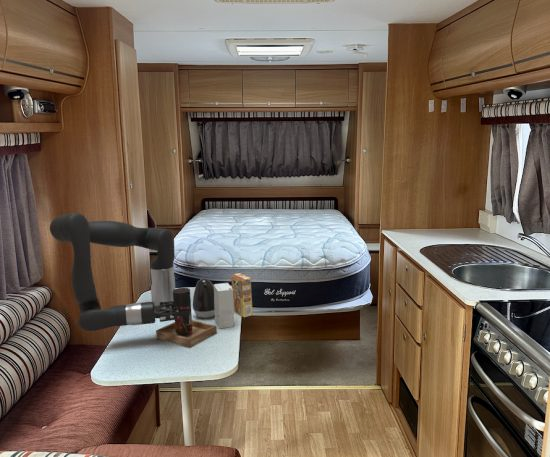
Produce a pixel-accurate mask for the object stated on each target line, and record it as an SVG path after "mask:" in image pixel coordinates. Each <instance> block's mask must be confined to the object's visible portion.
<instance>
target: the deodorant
mask: <svg viewBox="0 0 550 457" xmlns="http://www.w3.org/2000/svg"><path fill="white" fill-rule="evenodd" d="M173 303H174V310H181V309H190V315H189V316H179V317H178V319H177V320H174V322H175V331H176V333H177V334H188V333H191V332H192V331H193V329H192V320H193V317H192V316H193V315H192V300H191V289H190V288H188V287H178V288H175V289H174V290H173Z"/></svg>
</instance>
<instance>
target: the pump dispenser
mask: <svg viewBox="0 0 550 457" xmlns="http://www.w3.org/2000/svg"><path fill="white" fill-rule="evenodd" d="M192 298H193V299H192V310H193V312H194V313H195V315H196V316H197V317H199V318H202V319H208V318H212V317H215V307H214V283H212V281H211V280H210V279H209V278H206V277H205V278H201V279H199V280H198V281H197V282H196V285H195V287H194V293H193V297H192Z"/></svg>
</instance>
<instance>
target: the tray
mask: <svg viewBox="0 0 550 457" xmlns="http://www.w3.org/2000/svg"><path fill="white" fill-rule="evenodd" d="M217 327H218V326H217V325H214V324H211V323H206V322H203V321H199V320H196V319H195V320H194V319H192V329H193V331H192V332H191V333H188V334H177V333H176V331H175V321H174V322H172V323H169V324H166V325H165V326H163V327H161V328H158V329H156V330H155V336H156V339H159V340H163V341H164V342H165V341H166V342H169V343H172V344H176V345H179V346H183V347H186V348H189V349H190V348H192V347H194V346H195V345H197V344H200V343H202V342H203V341H204V340H207V339H208V338H210V337H213V336H215V335H216V334H218V330H217V329H218V328H217Z"/></svg>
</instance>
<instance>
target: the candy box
mask: <svg viewBox="0 0 550 457" xmlns="http://www.w3.org/2000/svg"><path fill="white" fill-rule="evenodd" d="M230 279H231V288H232V289H233V303H234V313H236V314H237V315H239V316H240V317H243V318H246V317H250V316H253V299H252V282H251V281H252V280H251V277H250V276H247V275H245V274H243V273H240V272H239V273H234V274H231V275H230Z"/></svg>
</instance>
